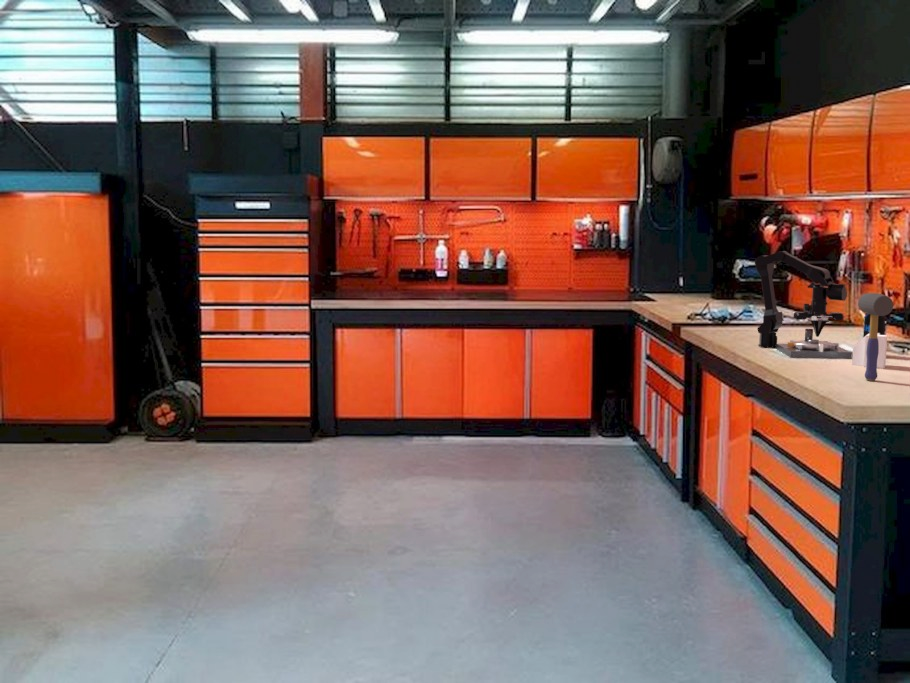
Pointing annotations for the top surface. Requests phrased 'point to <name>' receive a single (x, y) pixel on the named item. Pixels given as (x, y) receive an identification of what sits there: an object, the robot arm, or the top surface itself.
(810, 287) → the robot arm
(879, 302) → the rubber mallet
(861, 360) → the corner bracket
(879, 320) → the aerosol can
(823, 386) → the top surface
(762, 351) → the top surface
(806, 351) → the index base
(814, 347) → the sprocket
